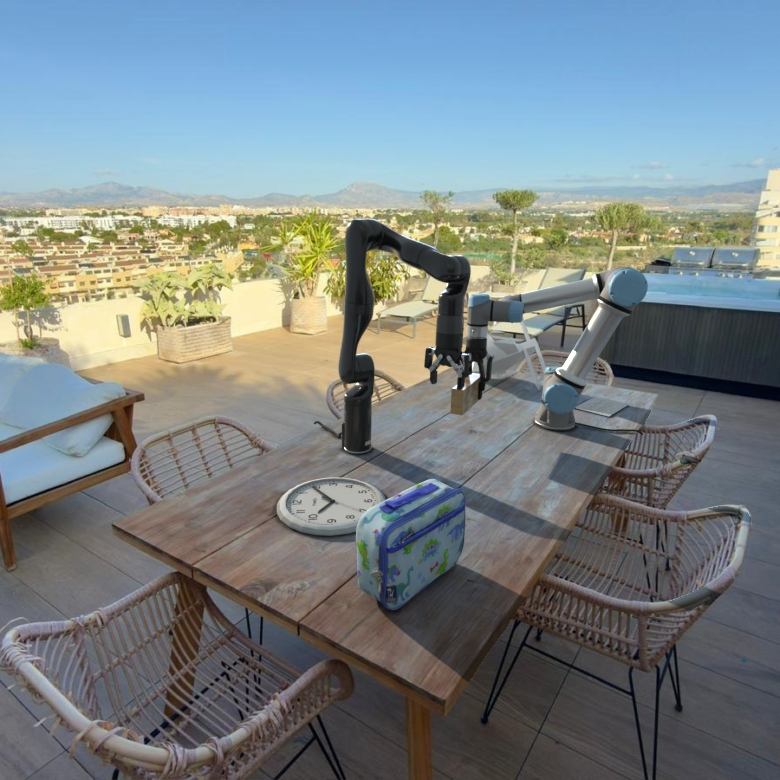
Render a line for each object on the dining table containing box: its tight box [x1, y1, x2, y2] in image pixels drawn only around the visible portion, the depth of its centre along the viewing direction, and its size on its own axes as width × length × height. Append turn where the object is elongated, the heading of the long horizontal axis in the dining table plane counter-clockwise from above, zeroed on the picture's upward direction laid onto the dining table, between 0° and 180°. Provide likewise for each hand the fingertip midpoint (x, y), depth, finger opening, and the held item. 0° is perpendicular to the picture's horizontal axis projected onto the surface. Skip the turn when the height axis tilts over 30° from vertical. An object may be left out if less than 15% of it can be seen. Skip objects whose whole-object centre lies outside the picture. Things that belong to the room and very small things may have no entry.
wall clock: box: [276, 476, 387, 537], centre depth 142 cm, size 30×2×30 cm
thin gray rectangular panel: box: [574, 396, 629, 418], centre depth 226 cm, size 21×1×15 cm
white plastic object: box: [472, 317, 547, 391], centre depth 259 cm, size 37×45×31 cm
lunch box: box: [355, 478, 466, 611], centre depth 110 cm, size 26×11×21 cm, turn 134°
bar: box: [449, 373, 481, 416], centre depth 190 cm, size 23×4×9 cm, turn 153°
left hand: (446, 386), depth 149 cm, fingers open, 8 cm apart
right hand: (473, 397), depth 197 cm, fingers closed on bar, 4 cm apart
